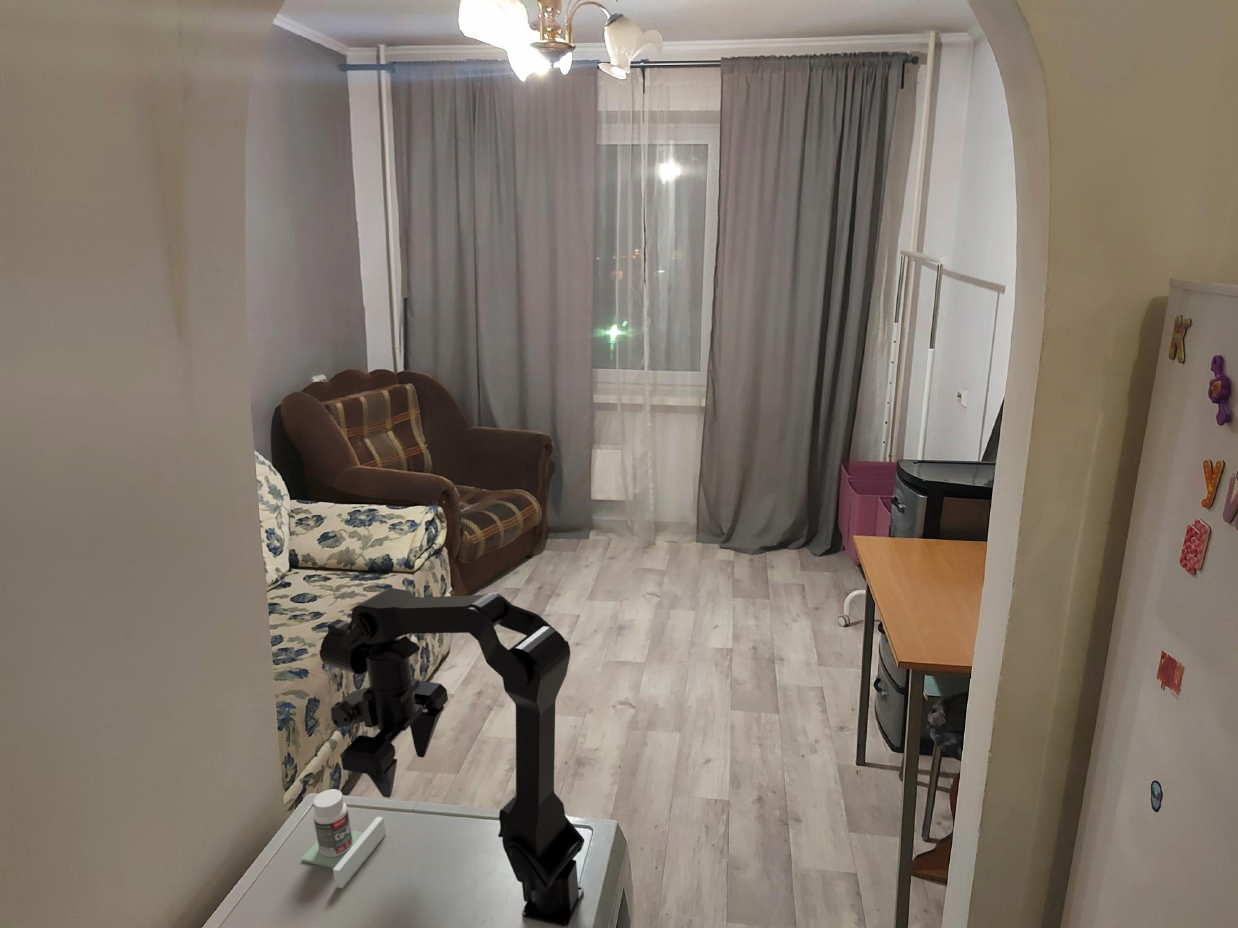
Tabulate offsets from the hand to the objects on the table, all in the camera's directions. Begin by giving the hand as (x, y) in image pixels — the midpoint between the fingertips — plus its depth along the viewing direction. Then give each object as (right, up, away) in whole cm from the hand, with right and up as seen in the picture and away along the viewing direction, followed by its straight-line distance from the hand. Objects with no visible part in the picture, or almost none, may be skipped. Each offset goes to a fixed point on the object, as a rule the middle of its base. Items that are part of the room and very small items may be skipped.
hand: (404, 775), depth 122 cm
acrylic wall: (-7, -12, +1) cm, 14 cm away
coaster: (-11, -12, +4) cm, 17 cm away
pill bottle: (-11, -12, +4) cm, 17 cm away
